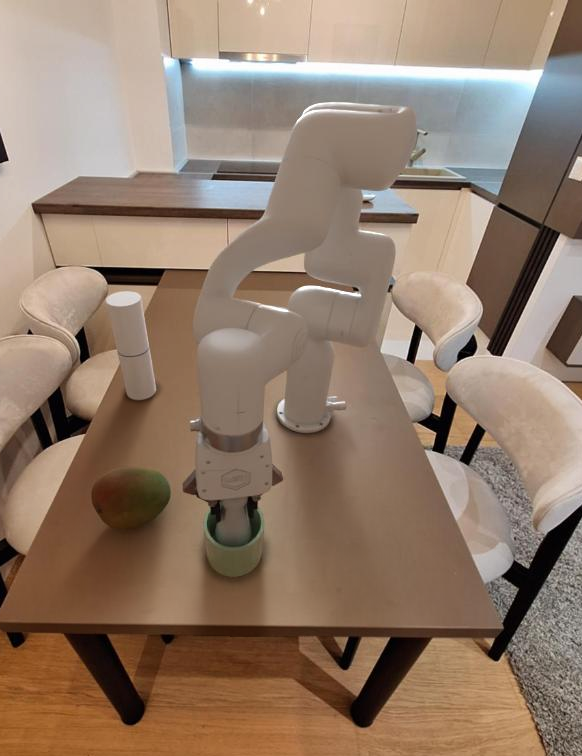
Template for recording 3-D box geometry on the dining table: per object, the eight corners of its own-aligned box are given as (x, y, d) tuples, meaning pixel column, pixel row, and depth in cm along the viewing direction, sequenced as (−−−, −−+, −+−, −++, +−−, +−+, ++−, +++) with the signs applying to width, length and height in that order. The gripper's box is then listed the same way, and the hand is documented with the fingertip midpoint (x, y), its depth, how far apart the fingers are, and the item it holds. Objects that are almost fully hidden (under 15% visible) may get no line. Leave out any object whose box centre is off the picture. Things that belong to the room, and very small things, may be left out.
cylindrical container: (126, 402, 96) (105, 307, 80) (126, 384, 101) (106, 292, 86) (157, 397, 97) (141, 304, 82) (155, 380, 103) (140, 289, 87)
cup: (257, 521, 71) (258, 493, 66) (266, 572, 64) (269, 545, 59) (204, 527, 70) (202, 500, 65) (208, 581, 63) (205, 554, 58)
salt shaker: (246, 559, 62) (248, 510, 55) (211, 552, 63) (208, 502, 55) (254, 527, 67) (257, 477, 59) (221, 520, 68) (219, 470, 60)
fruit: (89, 511, 72) (75, 475, 66) (149, 473, 79) (141, 437, 73) (122, 555, 66) (110, 520, 59) (184, 510, 73) (179, 474, 66)
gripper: (162, 454, 45) (177, 542, 56) (306, 440, 48) (293, 527, 59) (164, 411, 51) (177, 498, 62) (292, 400, 53) (282, 486, 65)
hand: (233, 511), depth 60 cm, fingers closed on salt shaker, 4 cm apart
